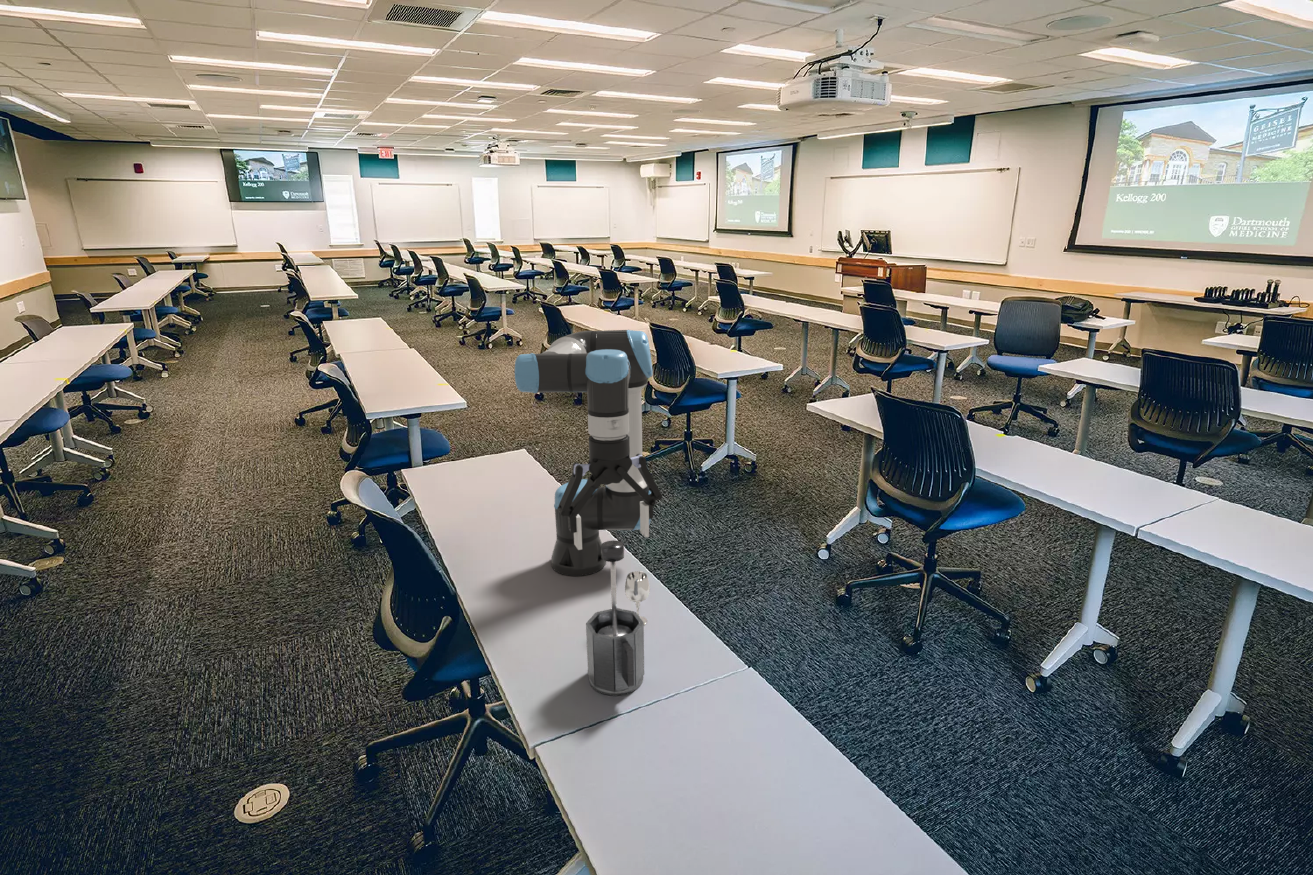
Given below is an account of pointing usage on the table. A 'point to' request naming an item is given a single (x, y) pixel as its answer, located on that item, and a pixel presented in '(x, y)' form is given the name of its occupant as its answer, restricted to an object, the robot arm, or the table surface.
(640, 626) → the octagonal container
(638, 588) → the wineglass
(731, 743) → the table surface
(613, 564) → the plunger
